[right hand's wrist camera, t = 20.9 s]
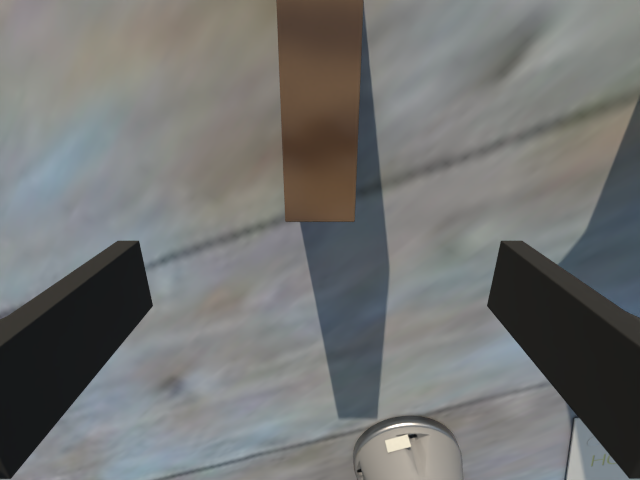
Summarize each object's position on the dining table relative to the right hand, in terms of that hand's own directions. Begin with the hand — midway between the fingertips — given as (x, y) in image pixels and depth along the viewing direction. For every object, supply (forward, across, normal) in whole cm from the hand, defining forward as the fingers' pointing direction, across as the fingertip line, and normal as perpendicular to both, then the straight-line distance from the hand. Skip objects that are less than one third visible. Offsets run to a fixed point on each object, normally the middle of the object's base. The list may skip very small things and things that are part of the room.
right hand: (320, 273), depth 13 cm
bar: (+24, 0, -9) cm, 25 cm away
